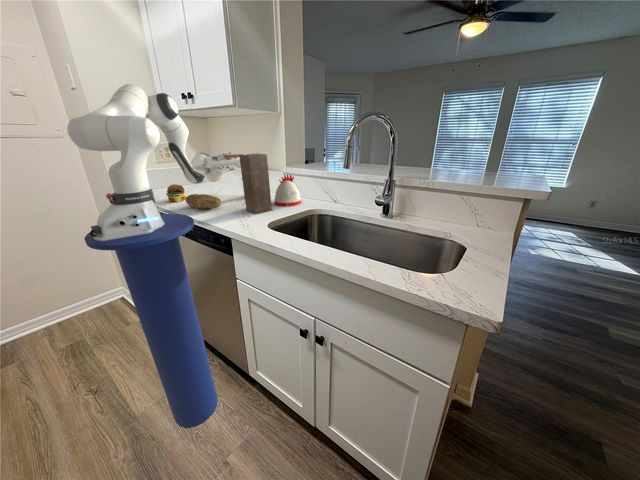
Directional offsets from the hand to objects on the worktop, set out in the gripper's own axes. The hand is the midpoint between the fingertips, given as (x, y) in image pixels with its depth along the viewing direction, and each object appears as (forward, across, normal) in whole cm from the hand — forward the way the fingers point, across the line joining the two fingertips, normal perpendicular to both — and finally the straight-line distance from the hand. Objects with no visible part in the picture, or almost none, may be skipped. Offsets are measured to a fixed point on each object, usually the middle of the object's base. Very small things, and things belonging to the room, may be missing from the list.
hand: (227, 153), depth 136 cm
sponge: (-10, -18, +24) cm, 31 cm away
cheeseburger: (-34, -22, +10) cm, 42 cm away
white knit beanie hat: (+10, +18, +35) cm, 41 cm away
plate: (+4, 0, +3) cm, 5 cm away
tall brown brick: (+12, 0, +36) cm, 37 cm away
